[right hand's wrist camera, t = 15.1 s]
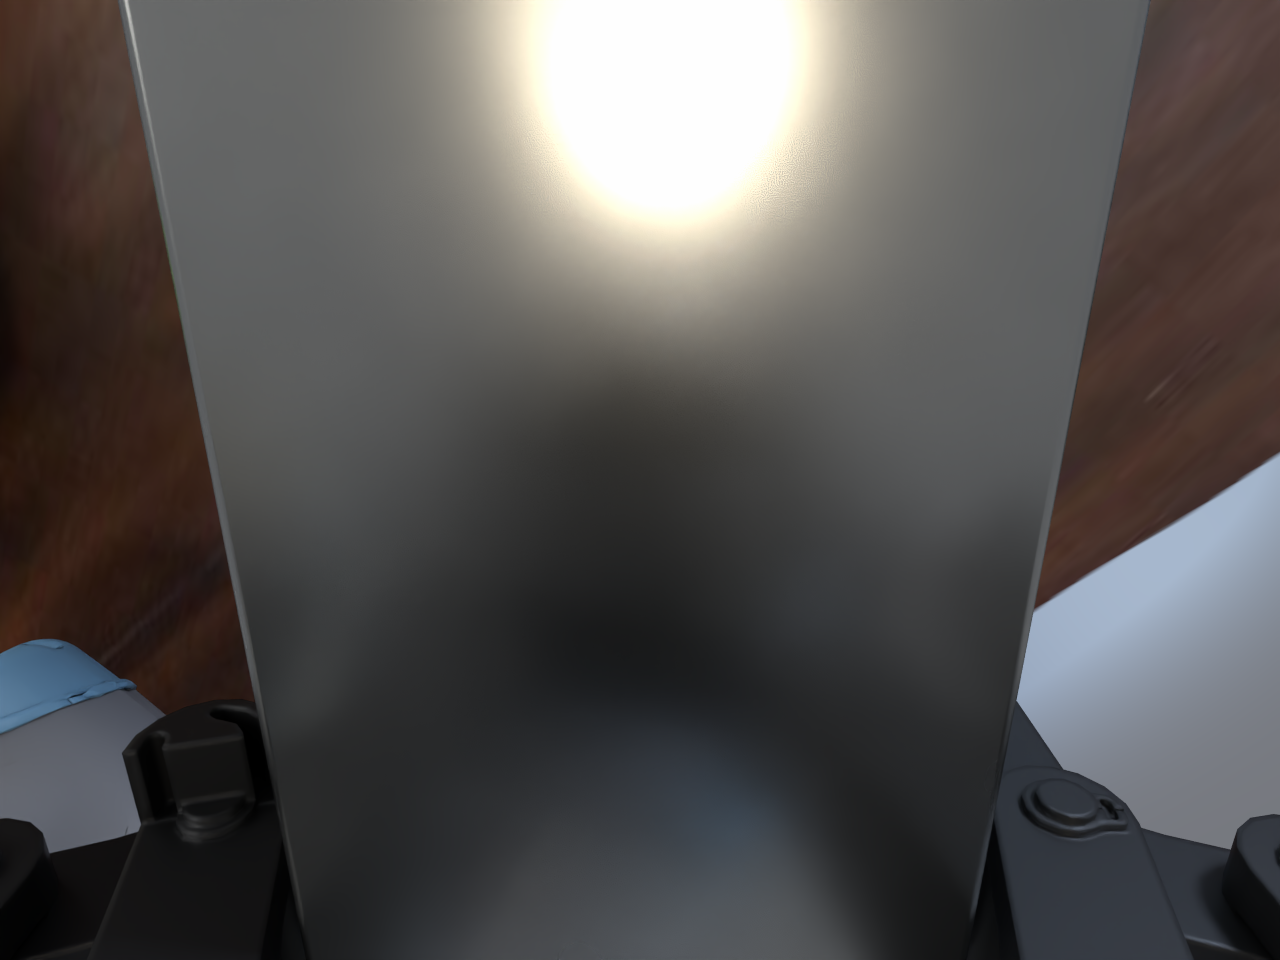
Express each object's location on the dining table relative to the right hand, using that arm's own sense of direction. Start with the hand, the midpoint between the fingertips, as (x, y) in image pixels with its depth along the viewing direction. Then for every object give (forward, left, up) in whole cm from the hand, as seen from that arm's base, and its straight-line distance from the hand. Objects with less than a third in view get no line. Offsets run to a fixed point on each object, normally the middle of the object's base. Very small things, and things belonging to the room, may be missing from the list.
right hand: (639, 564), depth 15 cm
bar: (+6, +7, -1) cm, 9 cm away
